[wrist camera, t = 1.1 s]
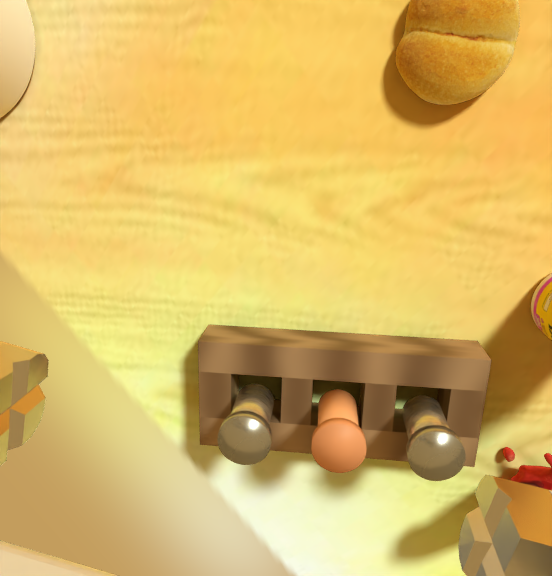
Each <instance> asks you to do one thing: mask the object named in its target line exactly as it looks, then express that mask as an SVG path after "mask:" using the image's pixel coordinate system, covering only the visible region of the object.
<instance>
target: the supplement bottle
mask: <svg viewBox="0 0 552 576" xmlns="http://www.w3.org/2000/svg"><path fill="white" fill-rule="evenodd" d="M531 313H532V317H533V320H534V322H535V324H536V325H537V327H538V328H539V329H540V330H541V331H542V332H543V333H544V334H545V335H546V336H547V337H548V338H549V339H550V340H551V341H552V273H551V274H550V275H548V276H547V277H546V278H545V279H544V280H543V281H542V282H541V283H540V284H539V285H538V287H537V288H536V290H535V292H534V294H533V297H532V301H531Z"/></svg>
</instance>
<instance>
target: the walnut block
mask: <svg viewBox="0 0 552 576" xmlns="http://www.w3.org/2000/svg"><path fill="white" fill-rule="evenodd" d="M198 361H199V414H200V444H201V445H213V446H218V440H217V438H218V433H219V430H220V427H221V425H222V423H223V421H224V420H225V418H226V417H227V416H229V415H230V414H231V412H232V409H233V407H234V404H235V401H236V398H237V395H238V393H239V374H241V375H256V376H270V377H282V395H281V400H274V405H273V410H272V415H271V420H270V427H271V430H272V441H271V446H270V450H275V451H287V452H299V453H311V454H312V450H311V445H312V435H313V432H314V430H315V429H316V427H317V426H318V406H319V403H312V391H313V379H314V380H328V381H343V382H357V383H361V388H360V400H359V406H357V415H358V424H359V427H360V428H361V429H362V431H363V433H364V435H365V440H366V448H367V449H366V456H365V458H372V459H385V460H397V461H409V460H408V456H407V451H406V447H407V442H408V440H409V438H408V434H407V431H406V427H405V423H404V419H403V415H402V411H403V409H395V401H396V391H397V385H401V386H415V387H430V388H439V389H438V397H437V402H438V403H439V404H440V406H441V409H442V411H443V414H444V416H445V419H446V421H447V423H448V426H449V428H450V429H451V430H453V431H454V432H455V433H456V434H457V435H458V437H459V438H460V440H461V442H462V445H463V447H464V450H465V454H466V459H465V463H464V466H470V467H474V466H475V460H476V454H477V447H478V441H479V435H480V429H481V422H482V416H483V410H484V404H485V397H486V391H487V385H488V379H489V372H490V366H491V359H490V357H489V356H488V355H487V353H486V352H485V350H484V349H483V348H482V346H481V345H480V344H479V342H478V341H469V340H453V339H436V338H420V337H403V336H387V335H370V334H354V333H337V332H321V331H304V330H288V329H271V328H255V327H238V326H222V325H208V327H207V328H206V330H205V331H204V333H203V335H202V336H201V338H200V339H199V341H198Z"/></svg>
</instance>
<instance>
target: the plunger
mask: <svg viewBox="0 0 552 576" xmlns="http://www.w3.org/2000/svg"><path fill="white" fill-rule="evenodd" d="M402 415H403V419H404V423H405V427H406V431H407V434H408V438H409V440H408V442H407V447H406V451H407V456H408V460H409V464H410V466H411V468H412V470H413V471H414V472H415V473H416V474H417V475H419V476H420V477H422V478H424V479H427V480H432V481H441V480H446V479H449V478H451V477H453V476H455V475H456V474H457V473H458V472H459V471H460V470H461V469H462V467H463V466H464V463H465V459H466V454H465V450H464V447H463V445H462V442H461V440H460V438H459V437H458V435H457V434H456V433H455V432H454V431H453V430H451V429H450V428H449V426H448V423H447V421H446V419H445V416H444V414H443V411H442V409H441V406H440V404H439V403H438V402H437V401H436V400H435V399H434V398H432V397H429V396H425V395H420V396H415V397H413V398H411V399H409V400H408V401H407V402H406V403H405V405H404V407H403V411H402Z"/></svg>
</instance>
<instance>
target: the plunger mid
mask: <svg viewBox="0 0 552 576" xmlns="http://www.w3.org/2000/svg"><path fill="white" fill-rule="evenodd" d="M366 449H367V448H366V440H365V435H364V433H363V431H362V429H361V428H360V427H359V424H358V415H357V405H356V401H355V399H354V397H353V396H352V395H351V394H350V393H348V392H346V391H344V390H340V389H335V390H330V391H328V392H326V393H325V394H324V395H323V396H322V397H321V398H320V401H319V406H318V426H317V427H316V429H315V430H314V432H313V435H312V445H311V450H312V455H313V457H314V459H315V461H316V462H317V463H318V464H319V465H320V466H321V467H323V468H324V469H326V470H328V471H331V472H337V473H343V472H348V471H351V470H353V469H355V468H357V467H358V466H359V465H360V464H361V463H362V462H363V460H364V458H365V456H366Z"/></svg>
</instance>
